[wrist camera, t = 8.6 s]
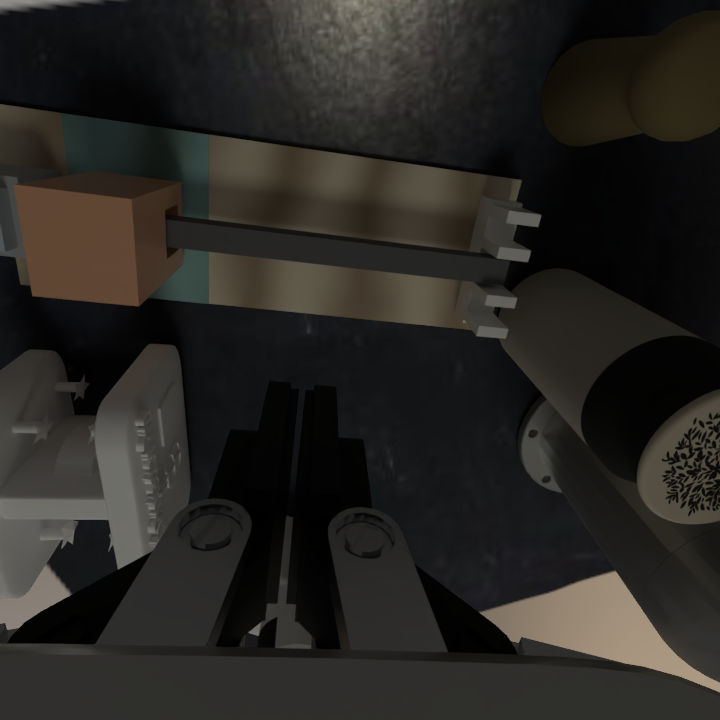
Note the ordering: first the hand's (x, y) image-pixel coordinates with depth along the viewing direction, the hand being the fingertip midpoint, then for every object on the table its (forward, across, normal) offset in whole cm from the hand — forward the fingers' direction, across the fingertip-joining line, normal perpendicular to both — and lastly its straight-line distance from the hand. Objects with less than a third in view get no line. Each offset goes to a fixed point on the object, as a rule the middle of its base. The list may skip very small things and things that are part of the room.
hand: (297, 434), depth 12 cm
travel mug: (+24, -18, +3) cm, 30 cm away
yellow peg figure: (+23, -16, -12) cm, 31 cm away
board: (+23, +3, -1) cm, 23 cm away
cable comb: (+23, -12, -1) cm, 26 cm away
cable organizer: (+23, +14, +16) cm, 31 cm away
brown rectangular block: (+22, +11, 0) cm, 24 cm away
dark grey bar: (+20, +3, -1) cm, 20 cm away
